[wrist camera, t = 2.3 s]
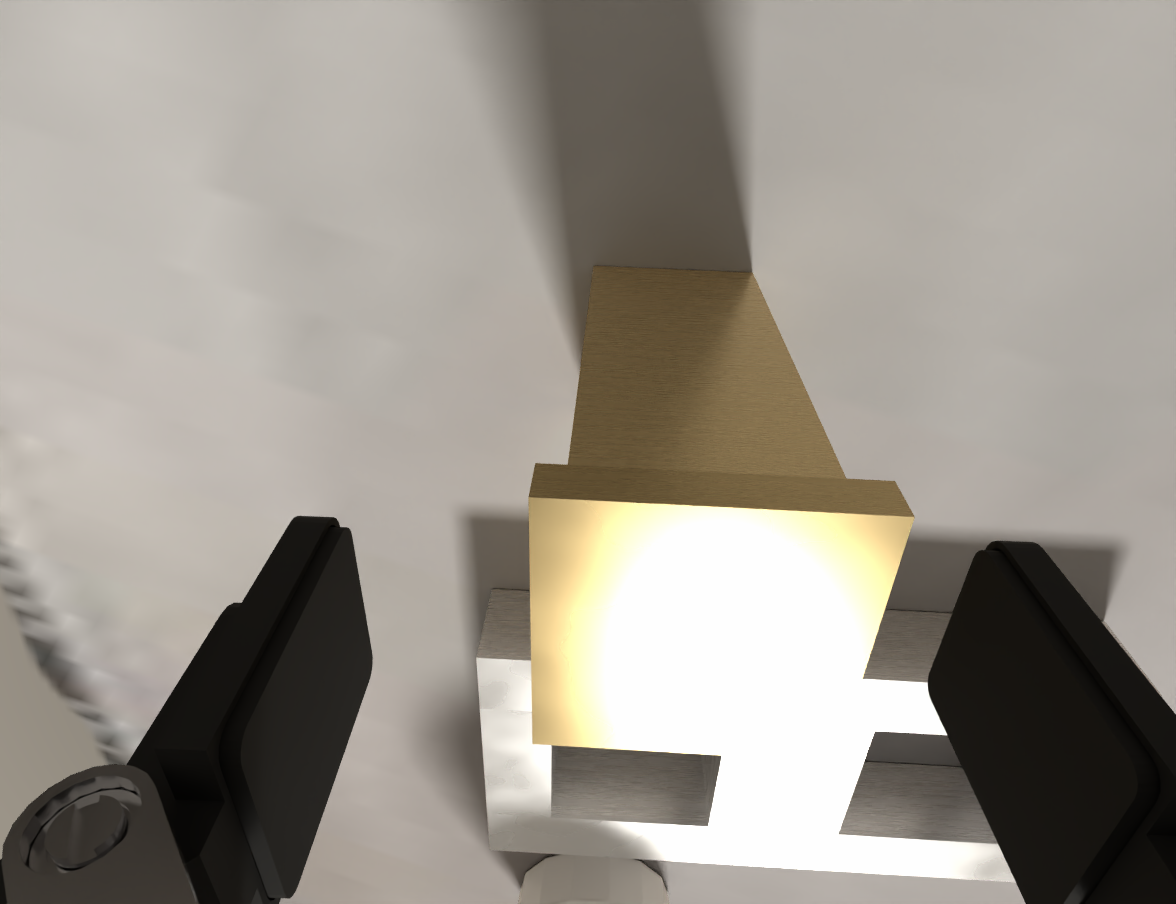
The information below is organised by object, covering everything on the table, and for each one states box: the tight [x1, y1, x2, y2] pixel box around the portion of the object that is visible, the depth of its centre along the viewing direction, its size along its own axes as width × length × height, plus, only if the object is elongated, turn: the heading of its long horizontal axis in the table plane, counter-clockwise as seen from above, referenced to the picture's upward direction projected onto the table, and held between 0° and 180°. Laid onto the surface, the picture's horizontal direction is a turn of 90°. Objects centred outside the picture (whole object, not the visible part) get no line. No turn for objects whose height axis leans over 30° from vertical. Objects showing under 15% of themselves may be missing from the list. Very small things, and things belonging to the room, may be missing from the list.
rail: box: [476, 589, 1162, 882], centre depth 26 cm, size 20×10×3 cm, turn 88°
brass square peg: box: [529, 266, 915, 762], centre depth 15 cm, size 5×5×11 cm
